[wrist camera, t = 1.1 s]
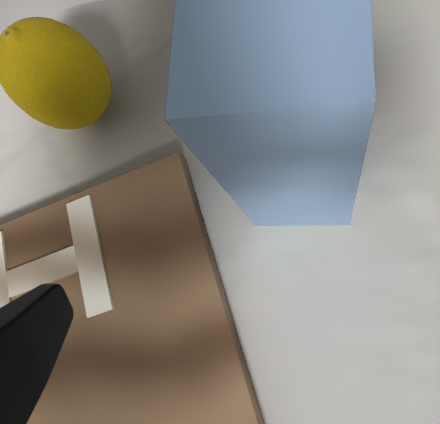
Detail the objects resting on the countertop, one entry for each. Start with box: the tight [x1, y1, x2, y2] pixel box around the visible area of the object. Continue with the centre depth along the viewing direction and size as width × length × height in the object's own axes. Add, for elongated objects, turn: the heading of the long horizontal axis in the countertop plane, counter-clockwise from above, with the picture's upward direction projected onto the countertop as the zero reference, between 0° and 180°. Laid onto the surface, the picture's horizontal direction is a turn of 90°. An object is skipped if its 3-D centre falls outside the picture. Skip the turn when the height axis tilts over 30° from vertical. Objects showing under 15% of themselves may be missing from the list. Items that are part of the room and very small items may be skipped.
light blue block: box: [165, 0, 376, 226], centre depth 16 cm, size 5×5×13 cm
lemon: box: [0, 17, 111, 129], centre depth 23 cm, size 6×6×8 cm
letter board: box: [0, 152, 264, 424], centre depth 22 cm, size 20×20×1 cm
